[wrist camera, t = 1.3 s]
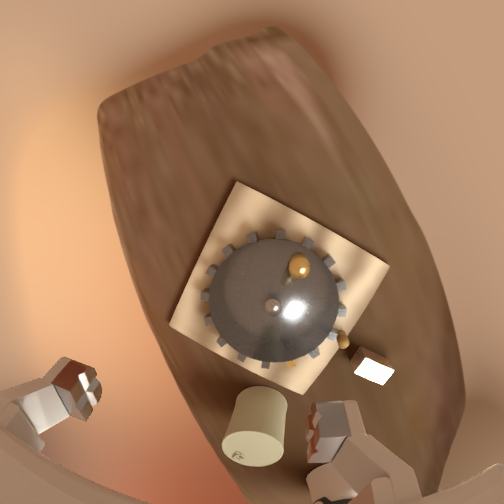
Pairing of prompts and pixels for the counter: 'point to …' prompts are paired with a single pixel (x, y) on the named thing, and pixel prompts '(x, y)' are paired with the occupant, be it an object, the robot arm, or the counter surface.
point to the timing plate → (297, 227)
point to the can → (256, 427)
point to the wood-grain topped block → (371, 365)
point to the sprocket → (274, 299)
